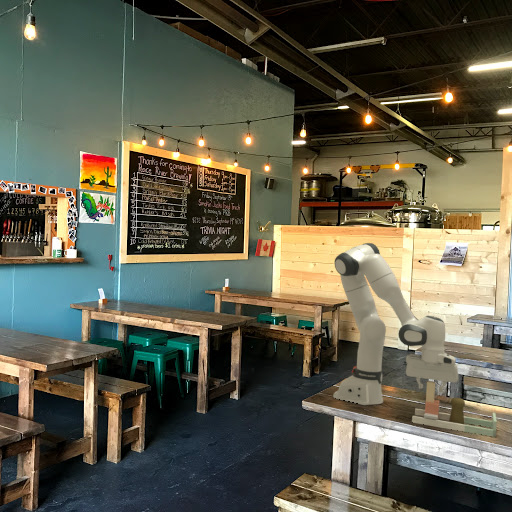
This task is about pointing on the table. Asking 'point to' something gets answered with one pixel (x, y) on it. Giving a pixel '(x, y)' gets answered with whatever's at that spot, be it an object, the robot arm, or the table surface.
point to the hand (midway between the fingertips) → (430, 389)
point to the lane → (457, 426)
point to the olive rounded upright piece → (457, 411)
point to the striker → (431, 402)
